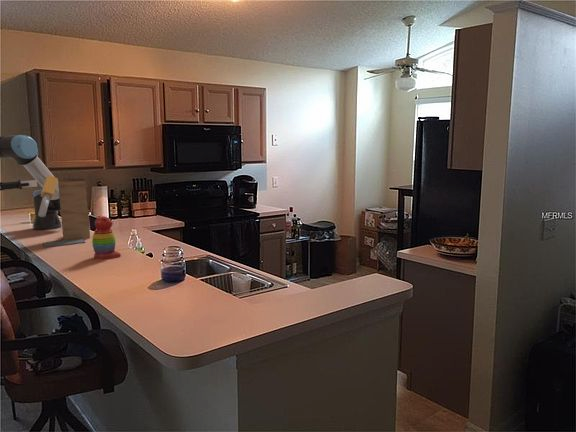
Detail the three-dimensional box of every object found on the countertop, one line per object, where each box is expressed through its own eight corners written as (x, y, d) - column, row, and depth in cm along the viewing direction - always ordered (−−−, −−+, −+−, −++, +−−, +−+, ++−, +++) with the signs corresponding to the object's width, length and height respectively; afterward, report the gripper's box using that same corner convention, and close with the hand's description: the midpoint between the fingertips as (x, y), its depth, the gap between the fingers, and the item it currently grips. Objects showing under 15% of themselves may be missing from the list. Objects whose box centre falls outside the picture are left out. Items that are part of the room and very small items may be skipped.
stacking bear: (122, 256, 206) (119, 216, 203) (98, 260, 199) (95, 219, 196) (112, 252, 214) (109, 213, 211) (89, 256, 207) (86, 216, 204)
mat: (43, 243, 235) (43, 242, 235) (82, 239, 245) (82, 238, 245) (45, 247, 227) (44, 246, 227) (85, 242, 236) (85, 241, 236)
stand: (63, 238, 248) (57, 178, 243) (87, 235, 254) (82, 177, 250) (65, 241, 241) (59, 179, 237) (90, 238, 248) (85, 178, 243)
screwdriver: (48, 214, 224) (37, 211, 221) (45, 219, 227) (34, 216, 224) (57, 178, 236) (47, 174, 234) (54, 183, 239) (44, 180, 237)
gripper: (-20, 194, 223) (36, 189, 234) (-21, 198, 209) (38, 192, 221) (-23, 178, 221) (34, 174, 233) (-24, 181, 208) (36, 176, 220)
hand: (36, 183), depth 227 cm, fingers open, 3 cm apart
